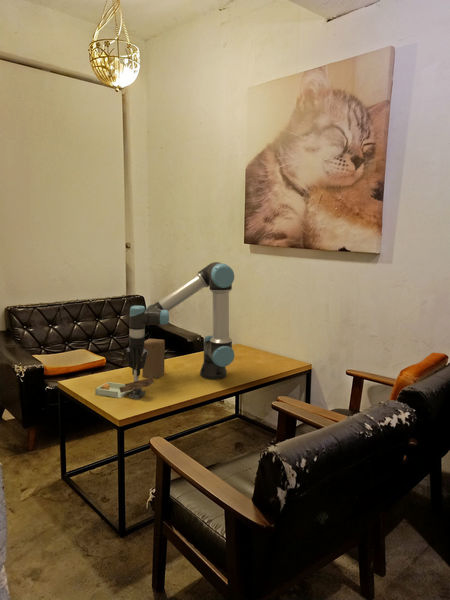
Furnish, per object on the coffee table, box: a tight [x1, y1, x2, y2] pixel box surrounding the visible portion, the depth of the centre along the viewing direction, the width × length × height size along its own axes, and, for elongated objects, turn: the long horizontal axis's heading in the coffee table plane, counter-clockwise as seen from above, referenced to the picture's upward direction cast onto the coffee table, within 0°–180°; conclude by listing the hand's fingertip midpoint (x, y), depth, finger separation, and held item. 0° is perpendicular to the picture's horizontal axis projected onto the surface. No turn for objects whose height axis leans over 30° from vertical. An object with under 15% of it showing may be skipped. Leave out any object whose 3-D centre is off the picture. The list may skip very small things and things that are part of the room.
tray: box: [95, 381, 133, 399], centre depth 227 cm, size 14×11×3 cm
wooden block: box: [141, 338, 166, 379], centre depth 254 cm, size 10×10×20 cm
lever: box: [119, 376, 155, 393], centre depth 226 cm, size 16×14×4 cm
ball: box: [102, 383, 110, 390], centre depth 228 cm, size 4×4×4 cm
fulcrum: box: [128, 388, 146, 400], centre depth 223 cm, size 5×7×4 cm
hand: (136, 381), depth 232 cm, fingers closed
